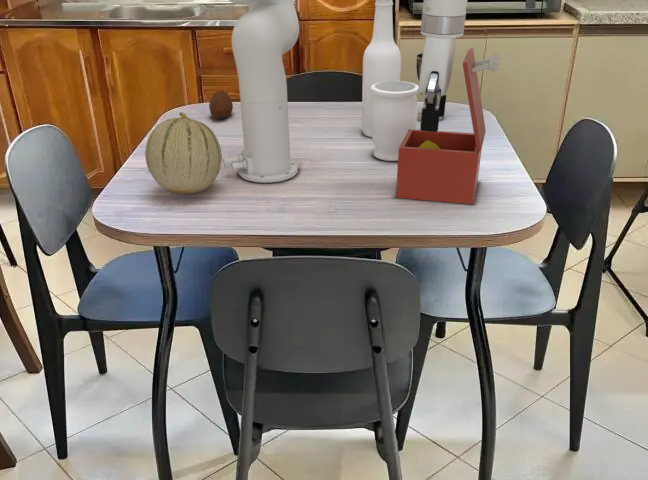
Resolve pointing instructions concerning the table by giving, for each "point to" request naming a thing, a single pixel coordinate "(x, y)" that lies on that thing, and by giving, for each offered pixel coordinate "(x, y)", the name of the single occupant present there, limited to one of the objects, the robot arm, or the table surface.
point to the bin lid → (477, 91)
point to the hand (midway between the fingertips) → (432, 123)
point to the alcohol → (379, 59)
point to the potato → (220, 104)
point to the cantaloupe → (183, 155)
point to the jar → (392, 116)
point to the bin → (438, 167)
